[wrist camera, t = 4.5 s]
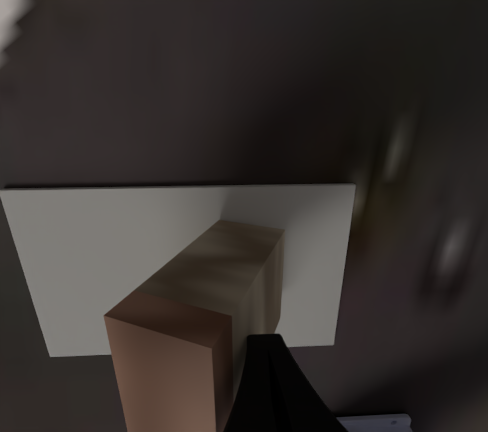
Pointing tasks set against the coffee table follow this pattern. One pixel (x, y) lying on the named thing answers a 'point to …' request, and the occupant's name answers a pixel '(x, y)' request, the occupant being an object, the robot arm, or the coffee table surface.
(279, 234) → the wooden block
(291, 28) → the coffee table surface
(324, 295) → the grey mat
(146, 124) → the coffee table surface
